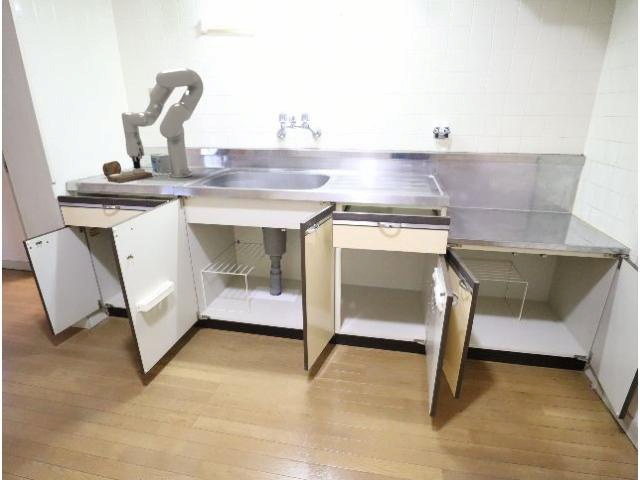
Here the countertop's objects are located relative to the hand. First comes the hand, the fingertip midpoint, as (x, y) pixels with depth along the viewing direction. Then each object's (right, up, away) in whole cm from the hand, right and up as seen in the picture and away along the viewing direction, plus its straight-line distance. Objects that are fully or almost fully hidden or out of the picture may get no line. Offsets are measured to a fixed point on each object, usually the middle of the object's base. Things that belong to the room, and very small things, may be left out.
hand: (137, 168), depth 210 cm
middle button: (-3, -5, -4) cm, 8 cm away
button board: (-1, -7, -5) cm, 9 cm away
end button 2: (+1, -3, +1) cm, 4 cm away
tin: (-17, -4, +4) cm, 18 cm away
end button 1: (-7, -9, -10) cm, 14 cm away
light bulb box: (+7, +1, +17) cm, 19 cm away
